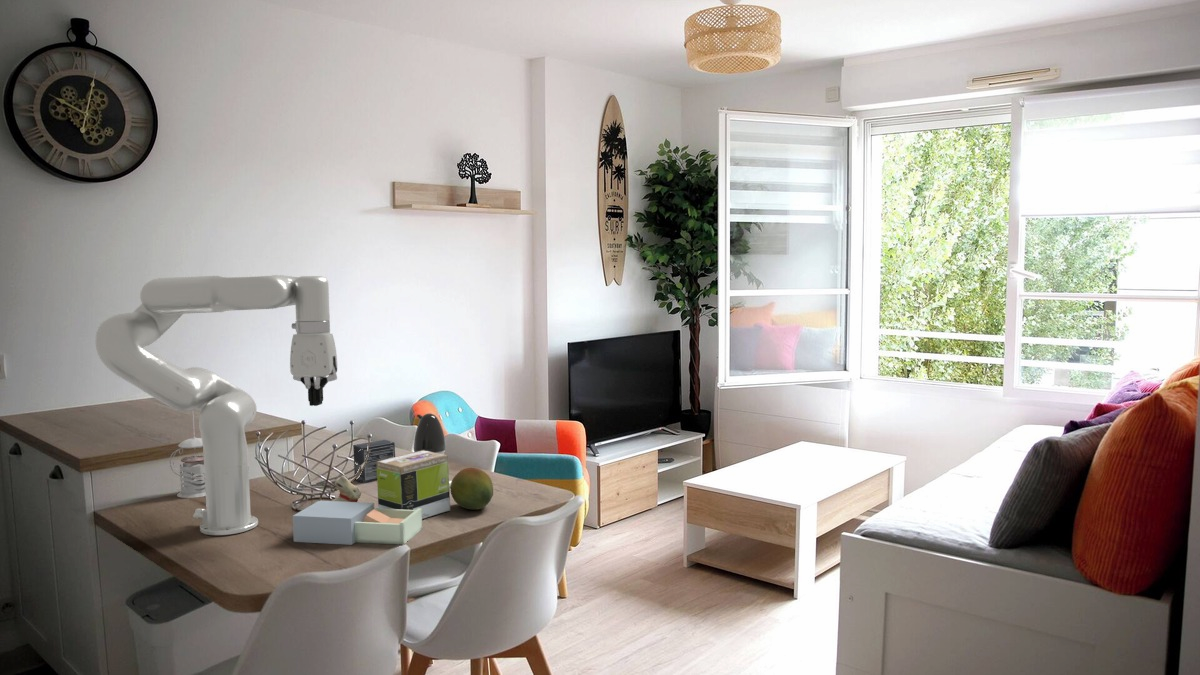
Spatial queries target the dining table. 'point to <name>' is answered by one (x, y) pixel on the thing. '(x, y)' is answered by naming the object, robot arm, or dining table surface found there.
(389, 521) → the peach orange cube
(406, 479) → the tea box
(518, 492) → the dining table surface
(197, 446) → the french press
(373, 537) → the bin
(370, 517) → the orange wooden cube
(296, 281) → the robot arm
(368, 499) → the dining table surface
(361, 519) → the light blue drawer case
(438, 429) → the black rounded cone
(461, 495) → the fruit
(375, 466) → the small box
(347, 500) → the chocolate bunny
